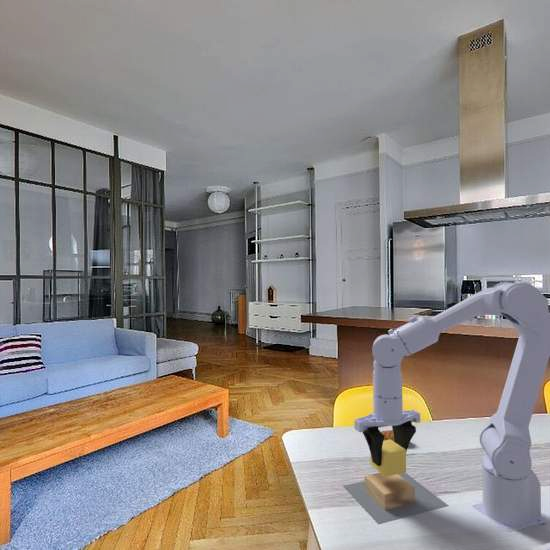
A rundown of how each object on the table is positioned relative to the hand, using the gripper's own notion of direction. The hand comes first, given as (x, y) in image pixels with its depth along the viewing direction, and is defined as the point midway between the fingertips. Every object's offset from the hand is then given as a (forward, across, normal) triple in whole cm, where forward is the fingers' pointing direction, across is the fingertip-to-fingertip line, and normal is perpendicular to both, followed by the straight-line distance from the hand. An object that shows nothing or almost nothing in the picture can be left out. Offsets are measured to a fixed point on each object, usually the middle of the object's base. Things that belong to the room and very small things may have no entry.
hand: (388, 461), depth 76 cm
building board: (+8, -1, 0) cm, 8 cm away
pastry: (+8, -16, -21) cm, 28 cm away
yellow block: (+2, 0, 0) cm, 2 cm away
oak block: (+7, 0, 0) cm, 7 cm away
